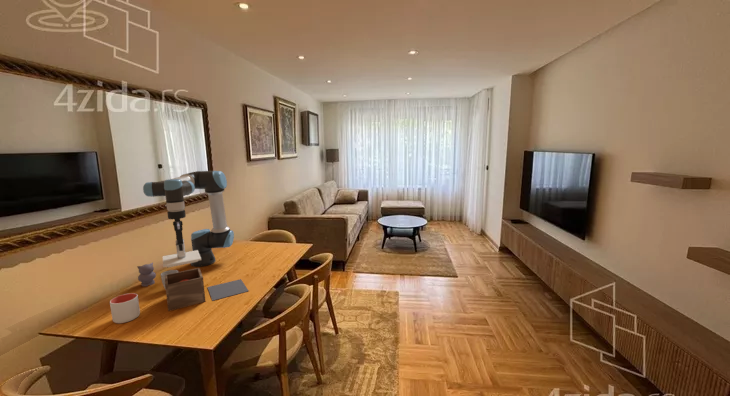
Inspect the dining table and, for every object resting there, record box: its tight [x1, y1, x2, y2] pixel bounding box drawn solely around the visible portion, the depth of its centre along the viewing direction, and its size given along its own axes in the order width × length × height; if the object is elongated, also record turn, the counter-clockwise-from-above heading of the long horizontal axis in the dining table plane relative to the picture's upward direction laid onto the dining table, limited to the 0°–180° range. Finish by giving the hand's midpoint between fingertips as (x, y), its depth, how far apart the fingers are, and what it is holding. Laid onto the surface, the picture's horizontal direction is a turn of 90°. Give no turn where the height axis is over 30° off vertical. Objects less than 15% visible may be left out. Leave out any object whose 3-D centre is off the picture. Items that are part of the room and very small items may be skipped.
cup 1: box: [109, 292, 141, 324], centre depth 136 cm, size 10×10×10 cm
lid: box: [162, 238, 201, 268], centre depth 150 cm, size 16×16×11 cm
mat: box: [206, 278, 250, 302], centre depth 165 cm, size 19×18×1 cm
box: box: [164, 267, 206, 312], centre depth 153 cm, size 16×16×13 cm
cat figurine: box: [136, 262, 157, 287], centre depth 172 cm, size 8×8×12 cm
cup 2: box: [160, 269, 179, 291], centre depth 165 cm, size 8×8×10 cm
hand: (181, 255), depth 150 cm, fingers closed on lid, 4 cm apart
